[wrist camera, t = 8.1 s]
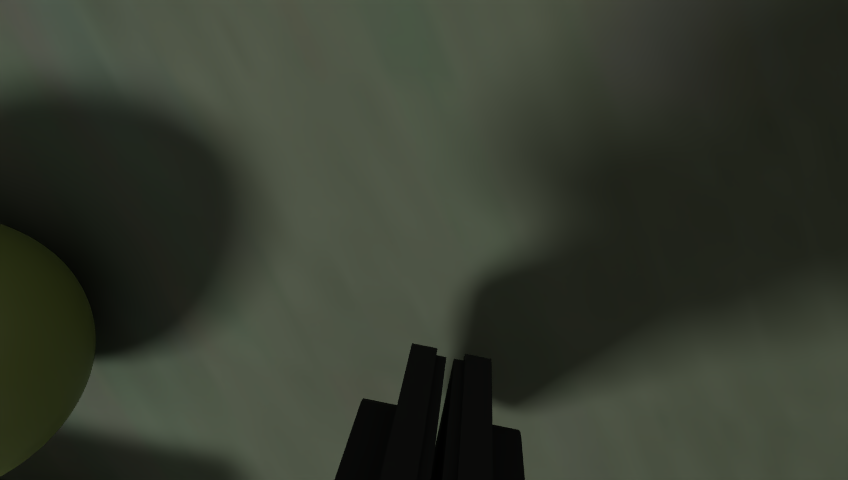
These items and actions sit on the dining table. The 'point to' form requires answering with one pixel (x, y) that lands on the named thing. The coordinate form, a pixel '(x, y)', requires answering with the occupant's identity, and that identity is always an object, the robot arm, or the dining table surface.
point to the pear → (39, 345)
